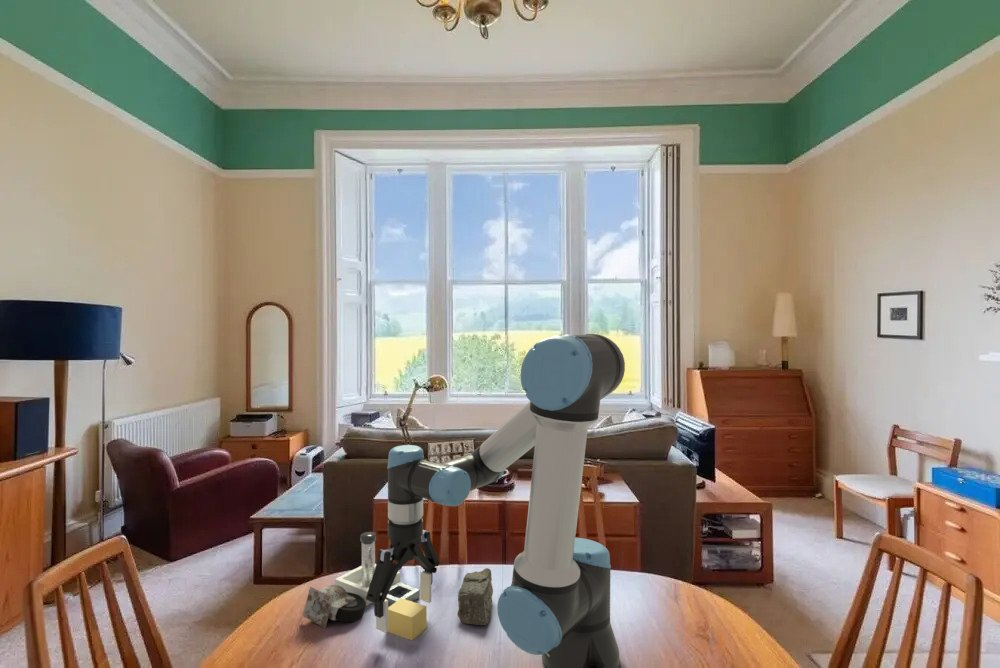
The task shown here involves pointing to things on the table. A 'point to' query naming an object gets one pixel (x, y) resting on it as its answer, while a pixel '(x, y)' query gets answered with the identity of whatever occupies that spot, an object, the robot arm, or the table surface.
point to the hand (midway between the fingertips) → (405, 614)
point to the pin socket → (402, 593)
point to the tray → (357, 583)
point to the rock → (476, 598)
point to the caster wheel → (333, 605)
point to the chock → (407, 618)
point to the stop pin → (368, 557)
